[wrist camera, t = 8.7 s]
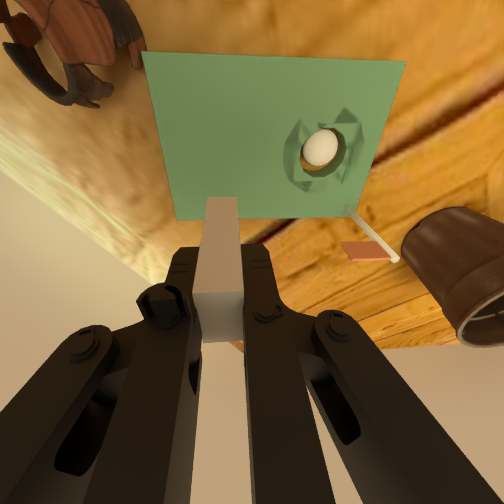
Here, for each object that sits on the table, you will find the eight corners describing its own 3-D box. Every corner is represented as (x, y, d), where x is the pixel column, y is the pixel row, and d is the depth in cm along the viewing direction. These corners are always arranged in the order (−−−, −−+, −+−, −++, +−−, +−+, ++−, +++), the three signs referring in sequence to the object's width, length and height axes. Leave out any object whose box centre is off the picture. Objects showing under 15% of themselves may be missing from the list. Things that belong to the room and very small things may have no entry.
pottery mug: (164, 99, 24) (105, 127, 19) (97, 82, 26) (27, 103, 21) (120, -110, 15) (-19, -158, 10) (19, -115, 16) (-140, -158, 12)
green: (180, 211, 32) (176, 220, 30) (149, 54, 21) (141, 51, 19) (346, 209, 34) (353, 216, 32) (391, 63, 23) (406, 61, 21)
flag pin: (311, 197, 32) (354, 258, 21) (342, 197, 32) (401, 256, 21) (310, 202, 32) (351, 264, 21) (341, 202, 33) (398, 262, 22)
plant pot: (390, 282, 45) (454, 360, 32) (382, 223, 36) (467, 300, 23) (478, 251, 42) (588, 324, 29) (494, 175, 32) (667, 235, 20)
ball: (297, 145, 28) (306, 119, 24) (327, 145, 29) (341, 120, 25) (300, 172, 27) (310, 150, 23) (331, 172, 28) (346, 150, 24)
